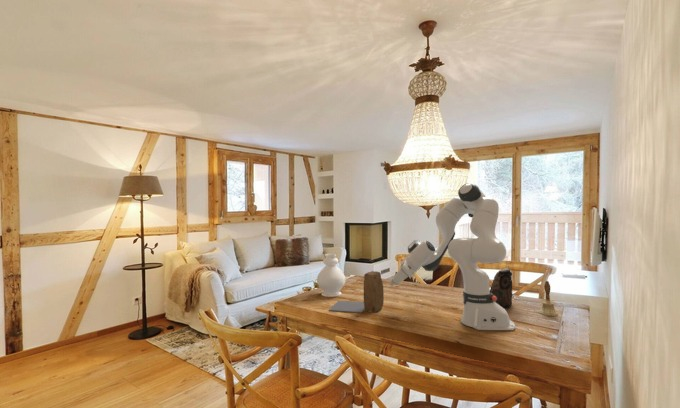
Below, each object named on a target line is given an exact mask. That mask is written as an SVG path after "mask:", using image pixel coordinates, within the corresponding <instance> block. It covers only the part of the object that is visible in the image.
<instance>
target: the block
mask: <svg viewBox="0 0 680 408" xmlns="http://www.w3.org/2000/svg"><path fill="white" fill-rule="evenodd" d="M363 278H364V279H363V302H364V308H365V310H364V311H366V312H369V313H376V312H379V311H381V310H382V309H383V306H384V302H385V301H384V296H385V295H384V293H385V292H384V284H383V283H384V282H383V279H382V273H381V272H380V271H374V270H373V271H368V272H366V273H365V274H364V275H363Z"/></svg>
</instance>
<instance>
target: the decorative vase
mask: <svg viewBox="0 0 680 408" xmlns="http://www.w3.org/2000/svg"><path fill="white" fill-rule="evenodd" d="M322 262H323V264H324V265H325V266H324V267H323V268H322V269H321V270H320V272H319V273H318V275H317V277H316V284H317V285H318V286H319V288H320V289H321V290H322V291H323V292H322V293H321V296H322V297H326V298H334V297H339V296H342V292H341V290H342V288H343V286H344V285H345V284H346V277H345V274H344V272H343V271H342V269H340V267H338V265H337V264H338V263H339V259H338V258H337V254H336V253H326V254H325V253H324V258H323V261H322Z"/></svg>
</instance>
